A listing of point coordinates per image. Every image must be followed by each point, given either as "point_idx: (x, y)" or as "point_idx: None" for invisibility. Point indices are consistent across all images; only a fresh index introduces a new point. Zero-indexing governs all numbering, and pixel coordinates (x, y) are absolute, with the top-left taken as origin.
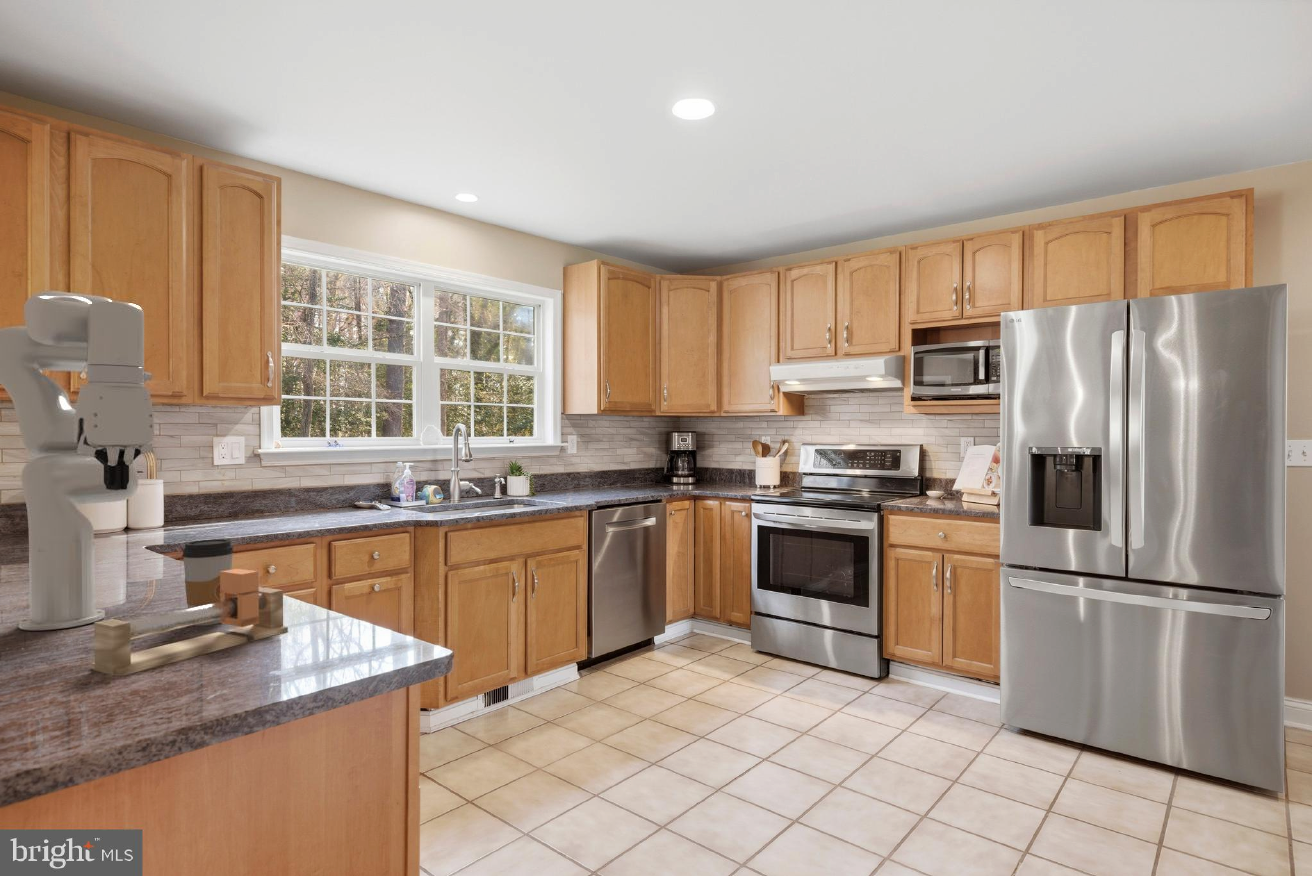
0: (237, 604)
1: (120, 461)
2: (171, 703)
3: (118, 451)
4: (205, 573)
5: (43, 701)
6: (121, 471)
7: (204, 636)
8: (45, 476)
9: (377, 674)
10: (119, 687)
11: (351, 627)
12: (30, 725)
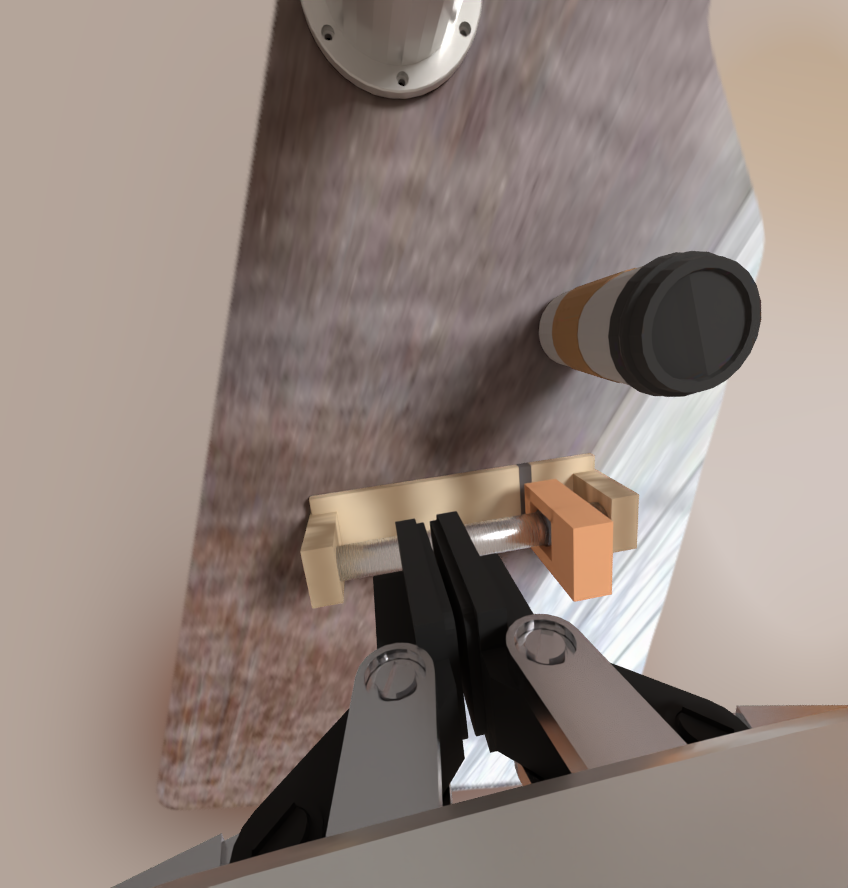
0: (545, 545)
1: (500, 741)
2: (327, 724)
3: (574, 764)
4: (607, 375)
5: (220, 609)
6: (466, 696)
7: (490, 478)
8: None
9: (517, 782)
10: (308, 621)
11: (649, 580)
12: (190, 689)
